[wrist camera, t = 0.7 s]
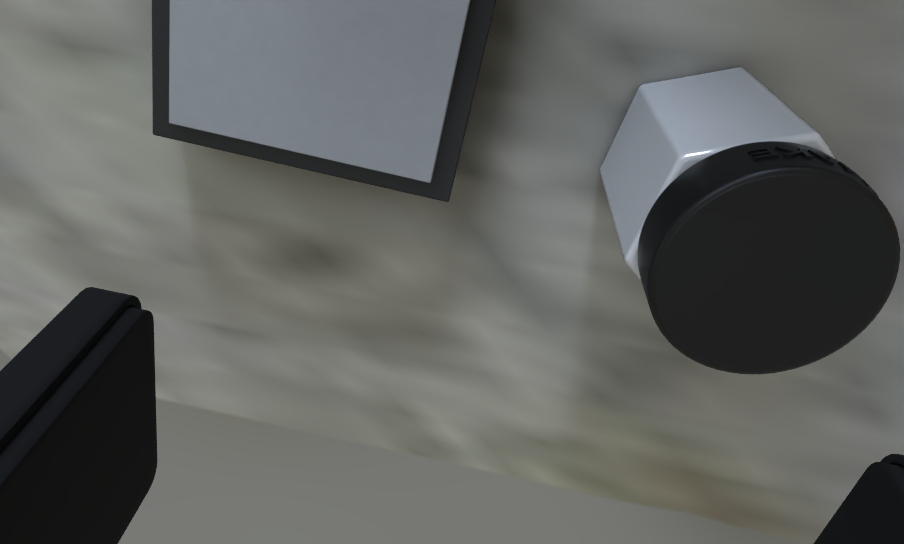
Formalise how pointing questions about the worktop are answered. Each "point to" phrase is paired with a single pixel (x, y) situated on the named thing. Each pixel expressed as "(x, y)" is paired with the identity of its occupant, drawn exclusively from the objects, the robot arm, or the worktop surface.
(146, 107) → the worktop surface
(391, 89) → the scale
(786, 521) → the worktop surface
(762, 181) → the jar
